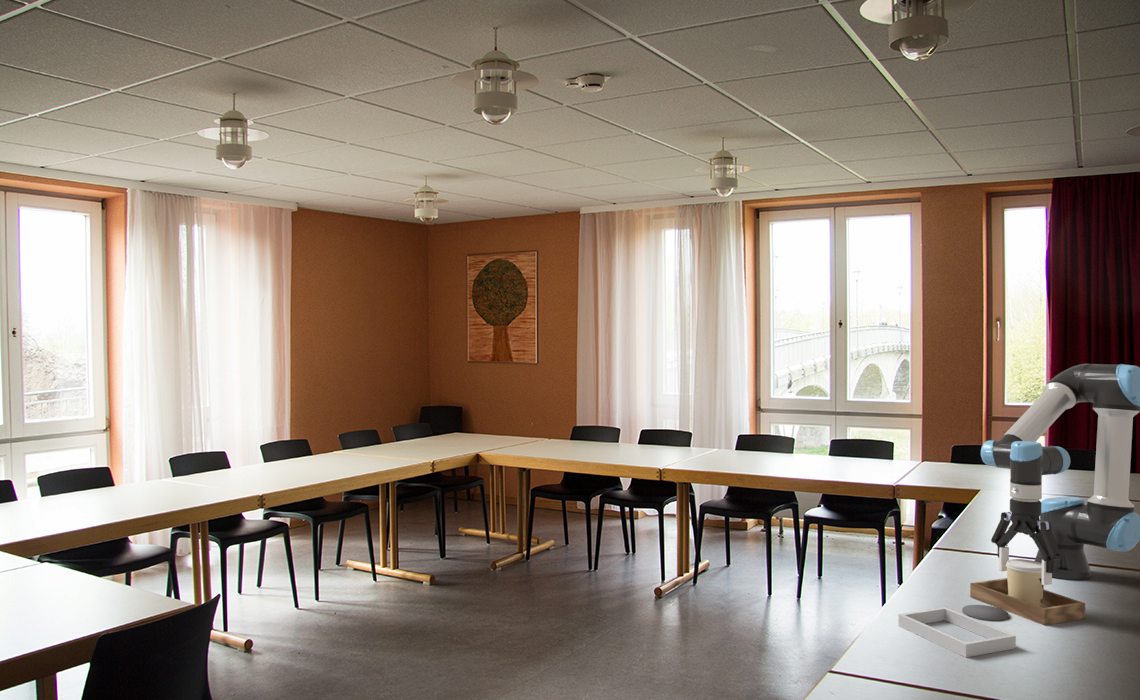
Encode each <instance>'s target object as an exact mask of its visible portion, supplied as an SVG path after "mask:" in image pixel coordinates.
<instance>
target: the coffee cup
mask: <svg viewBox="0 0 1140 700" xmlns="http://www.w3.org/2000/svg"><path fill="white" fill-rule="evenodd" d="M1006 567H1007V571H1006V576H1007V577H1006V578H1007V580H1008V593H1007V595H1009V596H1012V597H1014V598H1017V599H1020V600H1023V601H1026V602H1029V603H1031V604H1034V605H1037V606H1040V607H1043V605H1042V602H1043V590H1045V589H1044V587H1045V585H1042V563H1039V562H1036V561H1035V560H1031V559H1024V558H1023V559H1022V558H1021V559H1020V558H1018V559H1017V558H1014V559H1013V558H1012V559H1009V561H1007V563H1006Z"/></svg>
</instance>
